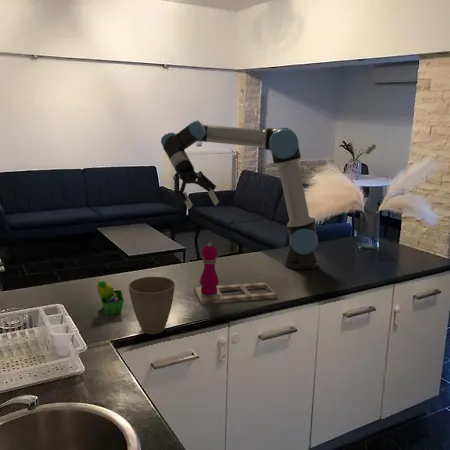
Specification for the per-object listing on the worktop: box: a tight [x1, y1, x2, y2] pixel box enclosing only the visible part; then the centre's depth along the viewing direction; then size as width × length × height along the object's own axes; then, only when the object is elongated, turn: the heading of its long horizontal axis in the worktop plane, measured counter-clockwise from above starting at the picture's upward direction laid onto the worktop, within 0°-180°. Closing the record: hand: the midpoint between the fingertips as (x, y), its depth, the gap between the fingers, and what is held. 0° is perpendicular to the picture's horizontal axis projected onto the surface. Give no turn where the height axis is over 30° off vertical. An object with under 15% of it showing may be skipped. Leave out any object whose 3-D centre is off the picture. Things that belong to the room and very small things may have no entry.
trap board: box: [193, 281, 278, 305], centre depth 198 cm, size 30×14×2 cm, turn 104°
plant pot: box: [128, 276, 176, 335], centre depth 165 cm, size 15×15×16 cm
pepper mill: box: [199, 242, 220, 295], centre depth 193 cm, size 7×7×20 cm
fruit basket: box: [96, 280, 125, 316], centre depth 181 cm, size 11×9×11 cm
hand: (204, 205), depth 205 cm, fingers open, 13 cm apart
